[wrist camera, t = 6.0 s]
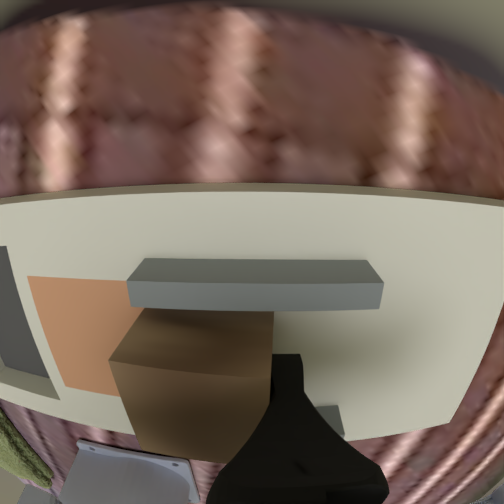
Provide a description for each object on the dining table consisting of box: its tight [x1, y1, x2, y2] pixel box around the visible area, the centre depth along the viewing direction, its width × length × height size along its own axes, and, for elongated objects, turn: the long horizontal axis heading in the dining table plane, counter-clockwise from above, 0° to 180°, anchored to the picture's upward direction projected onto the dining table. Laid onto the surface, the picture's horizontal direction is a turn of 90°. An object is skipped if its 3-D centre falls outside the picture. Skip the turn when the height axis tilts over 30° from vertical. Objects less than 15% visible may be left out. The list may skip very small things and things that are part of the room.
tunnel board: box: [0, 183, 504, 441], centre depth 14 cm, size 33×14×4 cm, turn 90°
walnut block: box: [108, 308, 274, 464], centre depth 12 cm, size 5×5×4 cm
